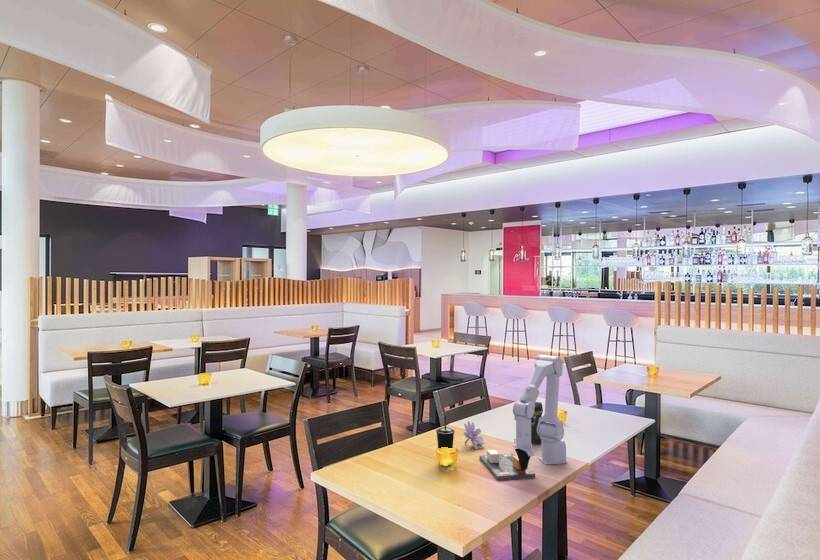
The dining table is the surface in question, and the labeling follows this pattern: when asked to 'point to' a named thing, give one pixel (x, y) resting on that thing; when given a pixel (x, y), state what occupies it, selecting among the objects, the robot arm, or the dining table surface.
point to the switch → (493, 456)
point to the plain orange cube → (516, 462)
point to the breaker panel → (506, 468)
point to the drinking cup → (445, 436)
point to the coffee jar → (536, 423)
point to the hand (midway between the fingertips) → (523, 468)
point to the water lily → (473, 434)
